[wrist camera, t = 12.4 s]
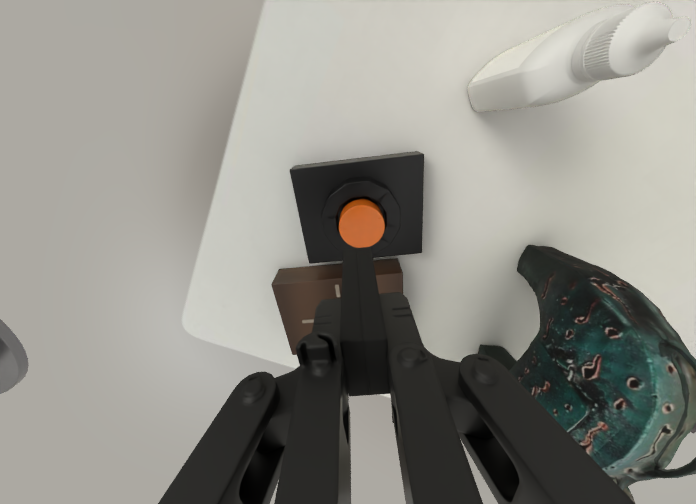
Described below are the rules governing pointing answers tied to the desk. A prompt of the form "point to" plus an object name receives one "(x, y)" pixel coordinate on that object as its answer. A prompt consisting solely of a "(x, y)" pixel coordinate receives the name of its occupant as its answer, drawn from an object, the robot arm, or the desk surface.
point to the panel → (321, 292)
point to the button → (361, 223)
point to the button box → (361, 183)
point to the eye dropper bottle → (576, 56)
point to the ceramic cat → (606, 367)
